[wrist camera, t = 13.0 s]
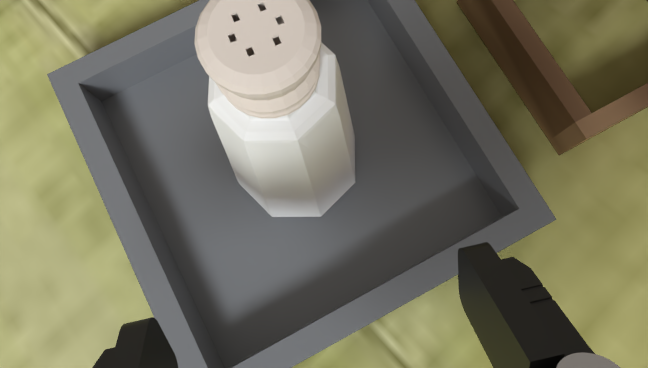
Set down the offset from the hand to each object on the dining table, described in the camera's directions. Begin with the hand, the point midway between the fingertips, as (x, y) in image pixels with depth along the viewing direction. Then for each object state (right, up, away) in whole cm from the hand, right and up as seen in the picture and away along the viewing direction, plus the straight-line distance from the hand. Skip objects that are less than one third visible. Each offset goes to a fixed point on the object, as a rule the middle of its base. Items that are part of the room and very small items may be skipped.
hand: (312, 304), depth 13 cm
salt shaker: (-1, +4, +9) cm, 10 cm away
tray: (-1, +4, +10) cm, 10 cm away
